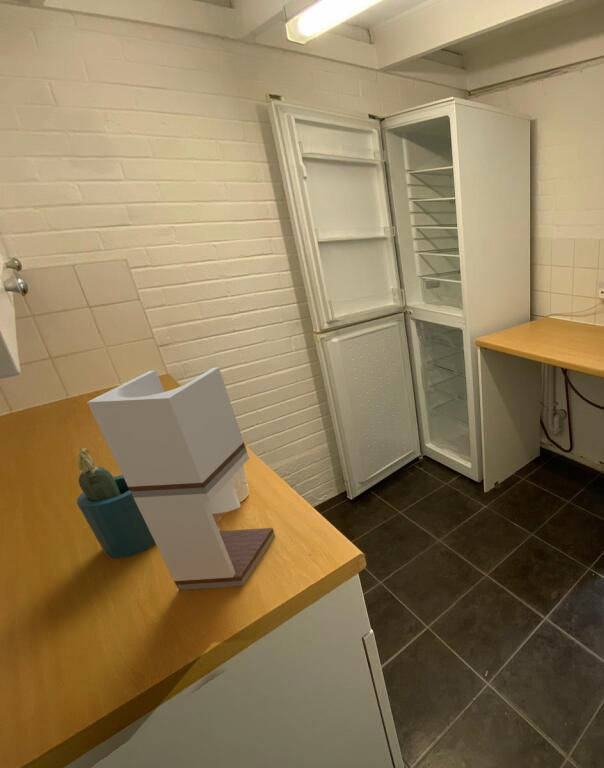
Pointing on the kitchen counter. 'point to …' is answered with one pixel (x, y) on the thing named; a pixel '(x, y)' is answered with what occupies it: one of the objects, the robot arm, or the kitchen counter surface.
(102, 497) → the vegetable
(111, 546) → the jar
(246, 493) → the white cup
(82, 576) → the kitchen counter surface
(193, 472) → the white coffee maker
